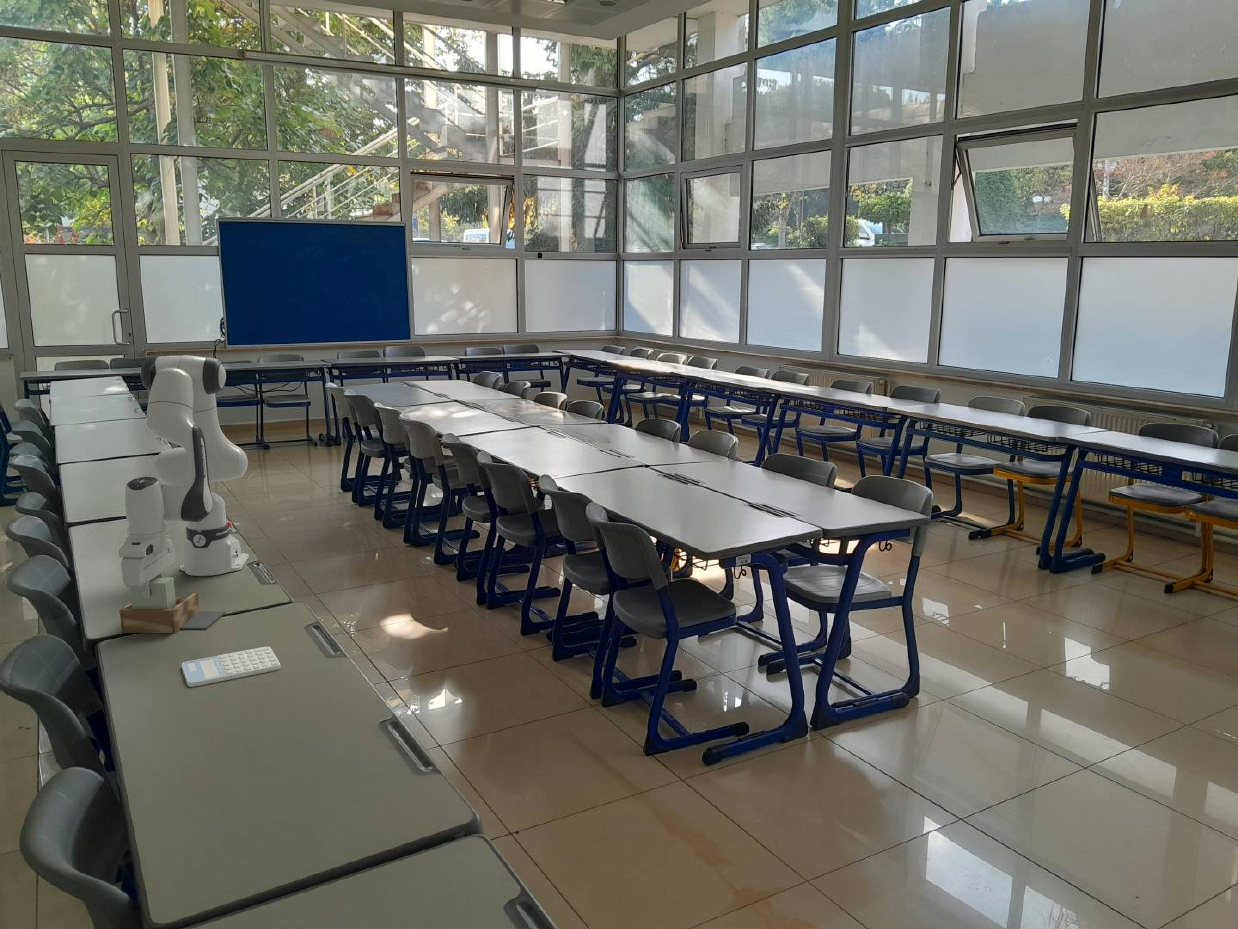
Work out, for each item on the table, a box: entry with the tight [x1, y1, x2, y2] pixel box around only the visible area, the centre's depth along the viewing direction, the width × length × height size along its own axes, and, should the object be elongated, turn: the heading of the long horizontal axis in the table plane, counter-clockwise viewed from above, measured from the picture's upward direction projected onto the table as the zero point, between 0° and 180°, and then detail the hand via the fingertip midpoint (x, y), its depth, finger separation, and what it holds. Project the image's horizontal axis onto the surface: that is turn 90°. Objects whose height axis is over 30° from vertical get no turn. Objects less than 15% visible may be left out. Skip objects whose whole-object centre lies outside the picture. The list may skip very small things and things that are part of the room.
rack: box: [119, 591, 200, 634], centre depth 240 cm, size 14×14×6 cm
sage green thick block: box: [130, 577, 176, 609], centre depth 236 cm, size 4×9×12 cm, turn 91°
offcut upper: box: [175, 596, 183, 604], centre depth 243 cm, size 4×6×2 cm, turn 89°
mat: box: [180, 610, 226, 631], centre depth 242 cm, size 12×7×1 cm, turn 1°
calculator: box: [181, 646, 282, 688], centre depth 213 cm, size 13×20×2 cm, turn 122°
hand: (152, 592), depth 236 cm, fingers closed on sage green thick block, 4 cm apart
